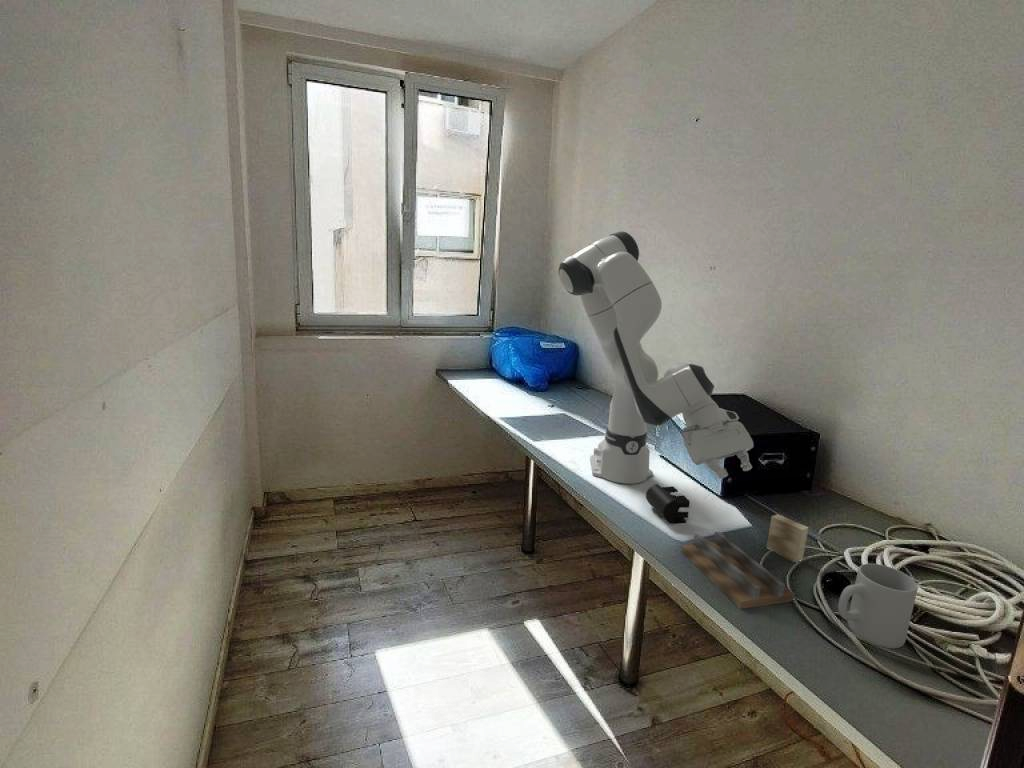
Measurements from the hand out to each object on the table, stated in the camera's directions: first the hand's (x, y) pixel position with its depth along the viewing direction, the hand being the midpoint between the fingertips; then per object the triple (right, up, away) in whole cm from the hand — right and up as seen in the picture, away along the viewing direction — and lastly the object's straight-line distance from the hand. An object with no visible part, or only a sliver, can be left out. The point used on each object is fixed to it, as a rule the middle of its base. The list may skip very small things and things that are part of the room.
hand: (736, 473), depth 121 cm
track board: (-7, -18, -15) cm, 25 cm away
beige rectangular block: (+8, -17, -7) cm, 20 cm away
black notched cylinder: (-14, -13, +10) cm, 21 cm away
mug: (+9, -23, -31) cm, 40 cm away
